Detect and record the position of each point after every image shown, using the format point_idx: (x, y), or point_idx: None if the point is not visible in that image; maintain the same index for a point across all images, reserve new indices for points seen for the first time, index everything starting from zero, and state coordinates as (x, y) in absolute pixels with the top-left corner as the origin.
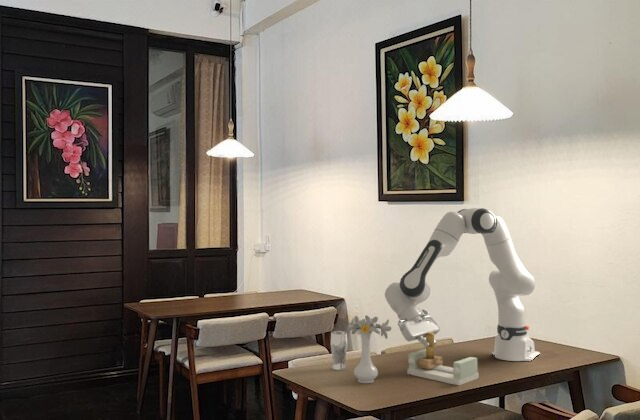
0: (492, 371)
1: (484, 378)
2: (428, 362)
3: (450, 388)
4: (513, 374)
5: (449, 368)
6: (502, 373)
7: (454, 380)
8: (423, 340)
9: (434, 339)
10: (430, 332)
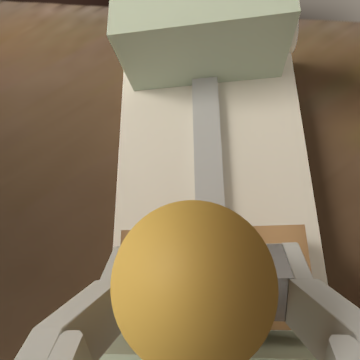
0: (7, 101)
1: (119, 63)
2: (298, 225)
3: (349, 57)
4: (7, 36)
5: (141, 194)
6: (14, 64)
7: (291, 68)
8: (347, 307)
9: (108, 275)
10: (123, 325)
